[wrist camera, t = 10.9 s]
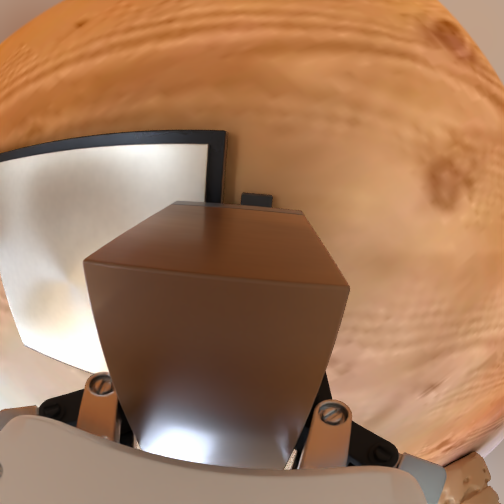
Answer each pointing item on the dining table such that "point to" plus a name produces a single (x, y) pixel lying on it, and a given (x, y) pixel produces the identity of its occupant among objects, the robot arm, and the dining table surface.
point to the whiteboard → (88, 221)
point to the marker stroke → (256, 200)
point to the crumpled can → (468, 482)
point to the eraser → (217, 329)
